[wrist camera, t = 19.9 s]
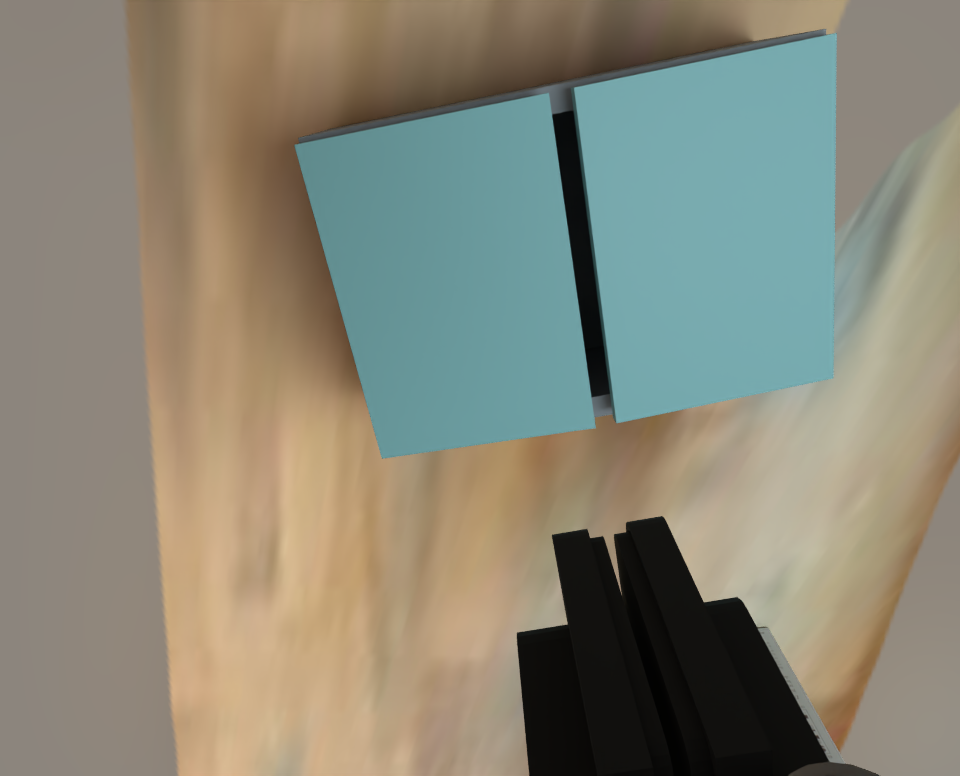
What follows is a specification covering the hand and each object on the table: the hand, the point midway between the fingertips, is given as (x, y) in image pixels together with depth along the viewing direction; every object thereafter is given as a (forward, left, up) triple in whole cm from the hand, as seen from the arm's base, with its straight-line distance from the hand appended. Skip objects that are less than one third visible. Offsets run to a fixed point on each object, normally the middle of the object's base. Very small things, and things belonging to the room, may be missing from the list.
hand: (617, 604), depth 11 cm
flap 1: (0, -3, -20) cm, 20 cm away
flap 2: (0, +8, -20) cm, 21 cm away
